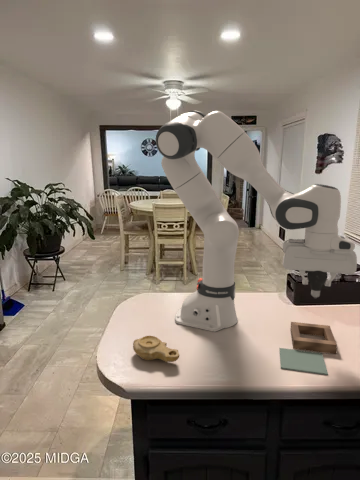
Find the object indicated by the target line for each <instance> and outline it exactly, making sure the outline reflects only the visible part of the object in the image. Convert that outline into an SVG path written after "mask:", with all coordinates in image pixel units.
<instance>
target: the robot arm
mask: <svg viewBox="0 0 360 480" xmlns="http://www.w3.org/2000/svg"><path fill="white" fill-rule="evenodd" d="M155 145H156V149H157V150H158V152H159V154H160V155H162V158H161V161H160V162H161V167H162V170H163V173H164V175H165V176H166V178H167V180H168V182H169V184H170V185H171V188H172V189H173V190H174V192H175V193H176V195H177V196H178V198H179V199H180V201H181V202H182V204H183V205H184V208H185V209H186V210H187V212H188V213H189V214H190V217H192V218H193V220H194V221H195V222H196V225H198V227H199V229H200V230H201V232H202V233H203V256H202V277H199V278H198V280H197V283H196V290H195V291H194V292H192V293H191V294H189V295H187V296H186V297H185V298H184V300H183V301H182V305H181V307H179V309H178V310H177V311H176V312H175V316H174V322H175V324H178V325H181V326H182V325H183V326H187V327H192V328H196V329H201V330H206V331H210V332H218V331H220V330H223V329H227V328H230V327H233V326H234V325H236V324H237V323H238V320H239V319H238V317H237V311H236V305H235V299H236V282H235V264H236V262H235V261H236V255H237V251H238V242H239V238H240V229H239V226H238V223H237V222H236V220H235V219H234V218H233V217H231V215H230V214H229V212H228V211H227V209H226V207H225V206H224V205H223V203H222V201H221V199H220V198H219V196H218V194H217V193H216V191H215V188H214V186H213V185H212V184H211V183H210V181H209V179H208V178H207V176H206V175H205V173H204V171H203V169H201V167H200V166H199V164H198V162H197V161H196V158H195V153H196V152H197V151H199V150H200V149H204V150H206V151H207V152H208V153H209V154H210V156H212V157H213V158H214V160H216V162H217V163H218V164H220V165H221V166H222V168H224V169H225V170H227V171H228V172H229V173H230V174H232V175H233V176H235V177H238V178H239V179H242V180H244V182H246V183H249V184H250V185H251V186H252V187H253V188H254V189H255V191H256V192H257V193H258V194H259V196H261V197H262V199H264V200H265V201H266V203H267V205H268V208H269V211H270V214H271V217H272V218H273V219H274V220H275V221H276V222H277V224H278V225H280V226H279V227H282V228H284V229H285V230H289V231H290V230H293V231H294V230H301V229H304V230H305V231H304V239H302V238H300V239H299V238H298V239H295V238H294V239H293V238H288V239H287V240H285V241H284V242H283V243H282V251H283V257H282V267H283V268H284V270H289V271H290V270H291V271H298V272H299V274H300V276H301V279H302V280H301V281H302V285H304V286H306V285H308V286H309V280H308V278H307V277H306V276H305V274H306V272H308V271H322V272H327V273H329V275H330V276H329V277H327V280H326V282H325V283H324V286H325V287H331V286H332V281H333V280H335V278H336V277H337V274H347V275H353V274H355V273H356V272H357V267H358V264H357V263H358V257H357V254H356V252H355V247H356V244H355V242H354V241H353V240H352V239H350V238H348V237H345V236H342V235H339V227H338V225H339V219H340V217H341V208H342V207H341V206H342V205H341V204H342V197H341V191H340V190H339V189H338V188H337V187H335V186H332V185H327V184H322V183H313V184H312V185H310V186H308V187H307V188H306V189H303V190H301V191H299V192H296V193H293V192H292V191H288V190H286V189H285V188H283V187H282V186H281V185H280V184H279V183H278V181H276V180H275V178H273V176H272V175H271V174H270V173H269V171H268V170H267V168H266V167H265V165H264V164H263V161H262V158H261V153H260V151H259V149H258V147H257V145H256V144H255V143H254V141H253V140H252V138H251V137H250V136H249V135H248V134H247V132H246V131H245V130H244V129H243V128H242V127H241V126H240V125H239V124H237V123H236V122H235V120H233V119H232V118H230V116H228V115H227V114H225V113H224V112H223V111H220V110H214V111H211V112H209V113H207V114H205V112H202V111H200V110H190V111H189V110H188V111H187V112H185V113H182V114H179V115H177V116H175V117H174V118H173V119H171V120H169V121H167V122H166V123H164V124H163V125H162V126H161V127H160V128H159V129H158V130H157V133H156V135H155Z"/></svg>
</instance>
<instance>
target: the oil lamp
mask: <svg viewBox="0 0 360 480" xmlns="http://www.w3.org/2000/svg"><path fill="white" fill-rule="evenodd" d="M132 345H133V346H132V349H133V352H134V353H135V354H136V355H137V356H138V357H140V358H141V359H142V358H143V359H142V360H144V359H145V361H153V360H158V359H159V360H161V361H163V362H165V363H174V362H176V361H178V360H179V359H180V352H179V349H177V348H176V349H175V348H170V347H167V342H166V341H162V340H161V339H160V338H158V337H157V336H155V335H145V336H143V337H140V338H136V339H134V340H133V342H132Z"/></svg>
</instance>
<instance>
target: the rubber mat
mask: <svg viewBox="0 0 360 480" xmlns="http://www.w3.org/2000/svg"><path fill="white" fill-rule="evenodd" d="M279 359H280V360H279V361H280V362H279V363H280V369H281V370H288V371H295V372H303V373H308V374H309V373H310V374H311V373H312V374H316V375H325V376H329V372H328V368H327V365H326V362H325V358H324V355H323V353H322V352H314V351H306V350H298V349H293V348H292V349H291V348H284V347H279Z"/></svg>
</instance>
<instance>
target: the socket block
mask: <svg viewBox="0 0 360 480" xmlns="http://www.w3.org/2000/svg"><path fill="white" fill-rule="evenodd" d="M289 329H290V337H291V344H292V349H293V350H301V351H309V352H318V353H322V354H323V353H325V354H331V355H337V350H338V344H337V341H336V339H335V336H334V334H333V331H332V329H331V326H330V325H327V324H316V323H307V322H298V321H297V322H296V321H290V328H289ZM301 335H306V336H307V335H310V336H316V337H317V336H318V337H323V339H318V338H317V339H316V338H308V337H301Z"/></svg>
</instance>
